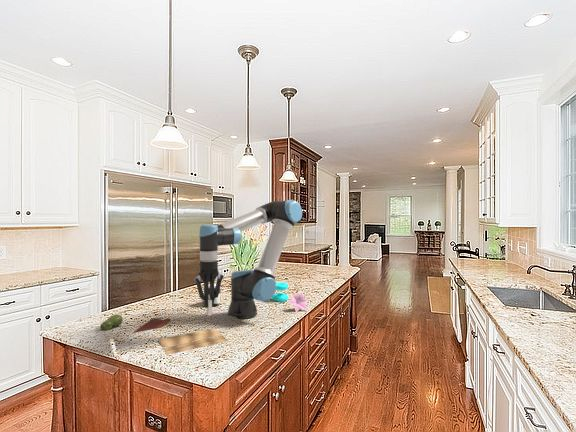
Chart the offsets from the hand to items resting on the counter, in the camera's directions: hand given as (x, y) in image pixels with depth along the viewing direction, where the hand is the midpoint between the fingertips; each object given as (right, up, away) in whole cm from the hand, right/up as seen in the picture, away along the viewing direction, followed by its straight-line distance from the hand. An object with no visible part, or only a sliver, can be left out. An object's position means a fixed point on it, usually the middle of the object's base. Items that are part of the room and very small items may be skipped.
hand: (209, 314), depth 141 cm
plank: (-6, -9, -6) cm, 12 cm away
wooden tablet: (-30, -10, +8) cm, 32 cm away
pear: (-48, -9, +10) cm, 50 cm away
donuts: (+29, -9, +58) cm, 66 cm away
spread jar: (-11, -9, +49) cm, 51 cm away
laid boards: (-2, -9, -12) cm, 16 cm away
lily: (+40, -9, +38) cm, 56 cm away
